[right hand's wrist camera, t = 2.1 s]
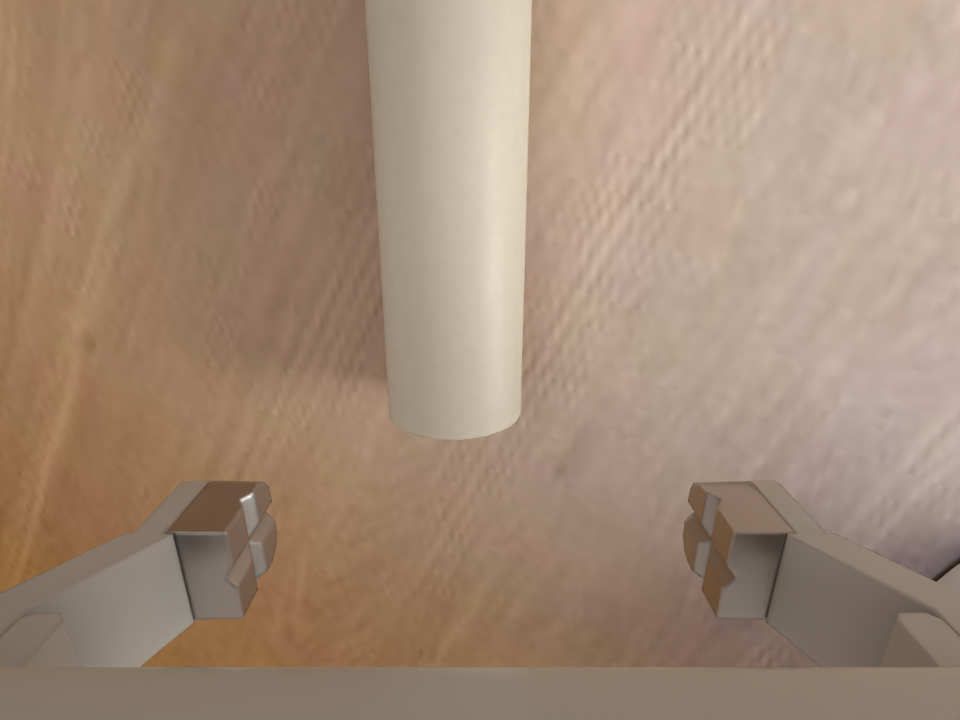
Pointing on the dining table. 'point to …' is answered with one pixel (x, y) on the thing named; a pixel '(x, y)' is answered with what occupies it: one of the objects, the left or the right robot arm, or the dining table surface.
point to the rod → (451, 207)
